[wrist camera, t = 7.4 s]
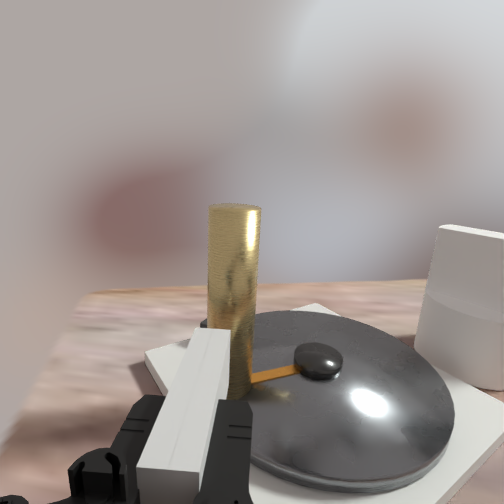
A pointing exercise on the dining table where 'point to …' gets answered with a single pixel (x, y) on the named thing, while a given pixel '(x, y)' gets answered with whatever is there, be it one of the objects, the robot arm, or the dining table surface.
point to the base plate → (396, 500)
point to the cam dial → (321, 380)
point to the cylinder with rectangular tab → (465, 307)
